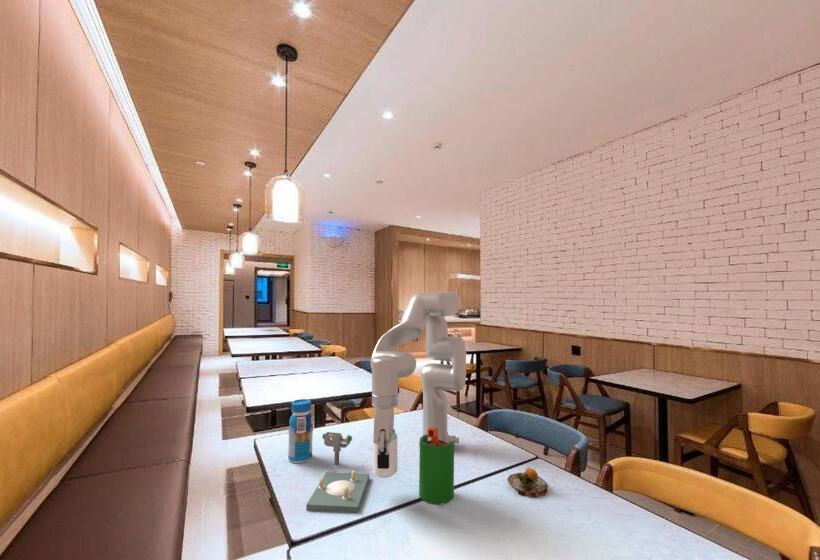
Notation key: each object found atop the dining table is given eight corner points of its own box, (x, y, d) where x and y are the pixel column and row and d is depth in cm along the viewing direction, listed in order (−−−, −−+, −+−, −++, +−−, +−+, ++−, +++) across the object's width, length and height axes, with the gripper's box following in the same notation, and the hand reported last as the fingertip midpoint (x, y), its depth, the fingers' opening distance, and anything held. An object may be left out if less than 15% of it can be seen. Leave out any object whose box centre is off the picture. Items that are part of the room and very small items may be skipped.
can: (388, 481, 98) (387, 437, 99) (367, 474, 102) (367, 432, 102) (402, 470, 104) (401, 429, 105) (382, 464, 108) (382, 424, 108)
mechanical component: (349, 467, 121) (349, 437, 121) (321, 464, 123) (321, 434, 123) (352, 463, 124) (352, 434, 124) (324, 460, 126) (325, 431, 126)
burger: (519, 474, 118) (519, 451, 118) (554, 488, 109) (554, 463, 110) (499, 487, 109) (499, 462, 110) (536, 503, 101) (536, 476, 101)
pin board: (369, 478, 113) (369, 465, 114) (357, 512, 95) (357, 497, 96) (326, 476, 114) (326, 464, 114) (306, 510, 96) (306, 495, 97)
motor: (456, 491, 107) (456, 422, 108) (449, 507, 98) (449, 433, 99) (423, 484, 110) (424, 418, 111) (414, 500, 101) (415, 428, 102)
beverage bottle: (282, 461, 125) (283, 403, 126) (298, 451, 133) (299, 397, 134) (302, 465, 122) (303, 406, 123) (317, 455, 129) (318, 399, 130)
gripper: (376, 390, 112) (376, 447, 112) (366, 409, 95) (366, 476, 95) (400, 390, 112) (400, 448, 112) (394, 410, 95) (394, 477, 94)
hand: (385, 460), depth 103 cm, fingers closed on can, 7 cm apart
